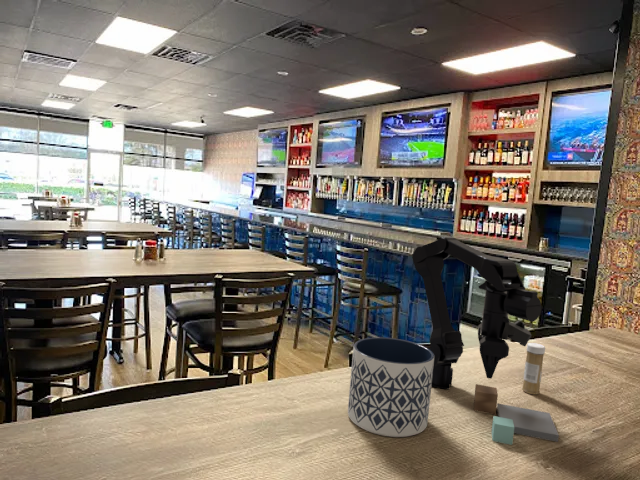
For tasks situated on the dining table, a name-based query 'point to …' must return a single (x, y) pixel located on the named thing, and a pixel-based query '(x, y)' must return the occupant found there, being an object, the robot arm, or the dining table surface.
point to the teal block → (502, 430)
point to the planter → (390, 386)
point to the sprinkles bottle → (533, 368)
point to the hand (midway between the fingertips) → (488, 371)
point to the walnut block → (485, 399)
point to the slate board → (529, 422)
